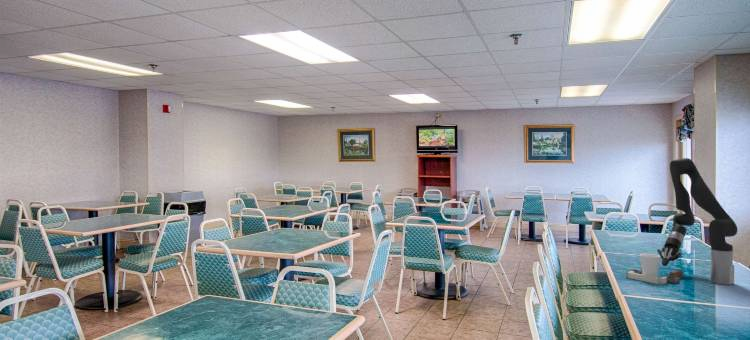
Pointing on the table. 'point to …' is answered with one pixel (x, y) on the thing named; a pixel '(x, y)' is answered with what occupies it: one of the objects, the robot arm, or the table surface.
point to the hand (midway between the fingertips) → (664, 265)
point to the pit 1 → (636, 271)
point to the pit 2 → (673, 279)
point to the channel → (675, 273)
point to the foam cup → (650, 264)
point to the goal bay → (646, 278)
